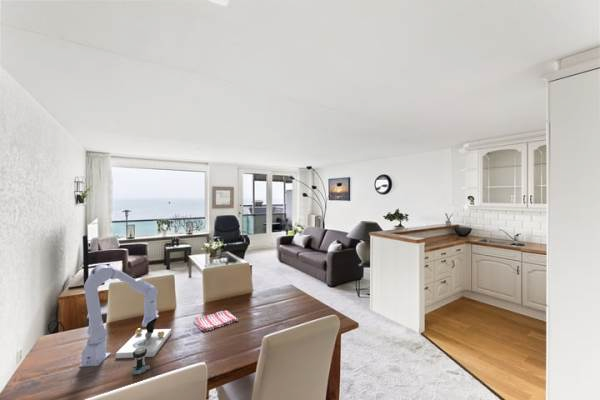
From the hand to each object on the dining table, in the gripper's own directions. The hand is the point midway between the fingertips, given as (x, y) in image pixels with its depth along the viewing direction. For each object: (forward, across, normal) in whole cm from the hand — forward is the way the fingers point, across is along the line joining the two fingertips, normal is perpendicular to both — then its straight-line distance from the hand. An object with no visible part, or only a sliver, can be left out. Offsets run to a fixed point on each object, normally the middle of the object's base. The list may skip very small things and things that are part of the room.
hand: (150, 333), depth 136 cm
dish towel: (+6, +20, -30) cm, 37 cm away
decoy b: (0, -2, -6) cm, 6 cm away
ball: (0, -2, 0) cm, 2 cm away
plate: (+4, -4, +1) cm, 6 cm away
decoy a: (0, +2, +7) cm, 7 cm away
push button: (+4, -26, -7) cm, 27 cm away
